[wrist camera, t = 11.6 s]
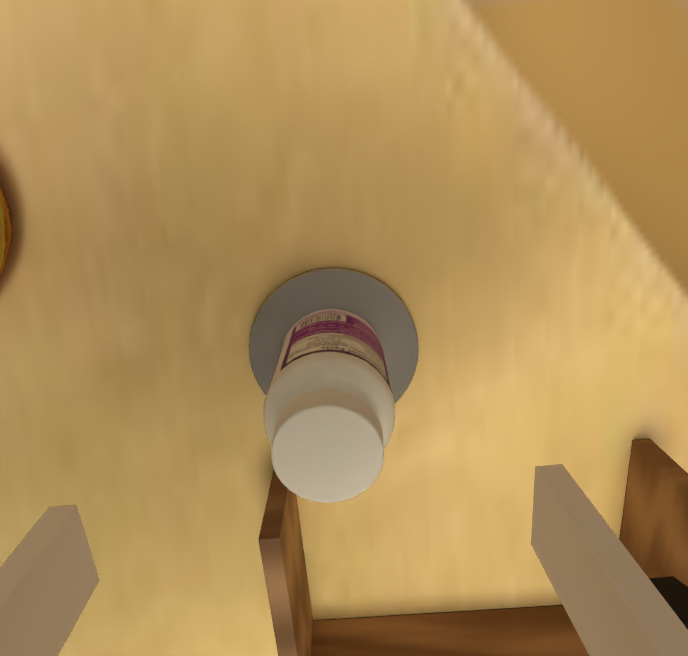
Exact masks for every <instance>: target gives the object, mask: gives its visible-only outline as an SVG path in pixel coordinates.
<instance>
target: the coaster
mask: <svg viewBox="0 0 688 656" xmlns="http://www.w3.org/2000/svg"><path fill="white" fill-rule="evenodd" d="M323 309H339V310H345V311H348V312H351V313H354V314H356V315H358V316H359V317H361V318H362V319H364V320H365V321H366V322H368V324H369V325H370V326H371V327H372V328H373V330H374V331H375V332H376V334H377V336H378V338H379V340H380V343H381V346H382V349H383V353H384V357H385V362H386V367H387V371H388V375H389V380H390V385H391V389H392V393H393V397H394V403H396V402H397V401H398V400H399V399H400V398H401V396H402V395H403V394H404V392H405V391H406V389H407V388H408V386H409V384H410V382H411V380H412V378H413V375H414V373H415V370H416V365H417V361H418V338H417V333H416V329H415V326H414V323H413V320H412V318H411V316H410V314H409V312H408V310H407V308H406V306H405V305H404V303H403V302H402V301H401V299H400V298H399V297H398V296H397V295H396V294H395V293H394V291H393V290H391V289H390V288H389V287H388V286H386V285H385V284H384V283H382V282H381V281H379V280H378V279H376V278H374V277H372V276H370V275H367V274H365V273H362V272H359V271H356V270H352V269H345V268H322V269H316V270H312V271H307V272H305V273H302V274H300V275H297V276H295V277H293V278H291V279H290V280H288V281H286V282H285V283H283V284H282V285H281V286H279V287H278V288H277V289H276V290H275V291H274V292H273V293H272V294H271V295H270V296H269V297H268V299H267V300H266V301H265V302H264V304H263V306H262V307H261V309H260V311H259V312H258V314H257V316H256V319H255V321H254V324H253V326H252V330H251V334H250V342H249V356H250V362H251V367H252V370H253V373H254V376H255V378H256V380H257V382H258V384H259V386H260V387H261V389H262V391H263V392H264V394H265V395H266V394H267V391H268V389H269V386H270V383H271V380H272V377H273V374H274V371H275V368H276V364H277V361H278V358H279V354H280V351H281V348H282V345H283V342H284V340H285V337H286V335H287V333H288V332H289V330H290V329H291V328H292V326H293V325H294V324H295V323H296V322H297V321H299V320H300V319H301V318H303V317H304V316H306V315H308V314H311V313H313V312H315V311H318V310H323Z"/></svg>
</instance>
